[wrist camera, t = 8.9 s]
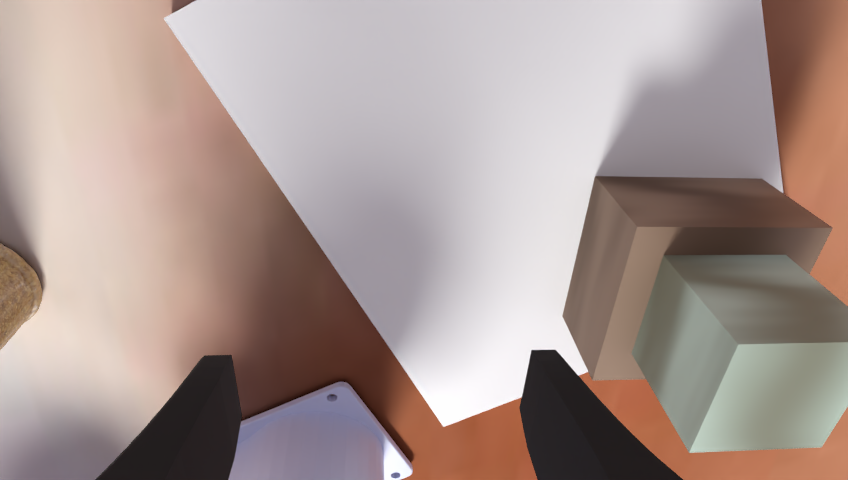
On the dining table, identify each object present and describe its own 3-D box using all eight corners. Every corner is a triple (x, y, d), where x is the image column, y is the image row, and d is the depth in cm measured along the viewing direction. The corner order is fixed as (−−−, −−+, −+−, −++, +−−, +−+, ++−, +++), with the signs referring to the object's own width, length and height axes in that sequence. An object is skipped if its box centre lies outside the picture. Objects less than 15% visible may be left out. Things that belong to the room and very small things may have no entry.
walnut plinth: (562, 316, 25) (592, 380, 22) (594, 175, 22) (637, 226, 18) (706, 314, 26) (757, 376, 22) (761, 178, 22) (832, 228, 19)
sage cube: (631, 353, 21) (689, 452, 17) (663, 255, 19) (738, 344, 15) (741, 350, 22) (821, 447, 18) (785, 254, 19) (889, 341, 15)
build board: (441, 414, 29) (443, 426, 28) (171, 14, 18) (163, 18, 17) (783, 282, 26) (794, 293, 26) (711, -287, 15) (727, -296, 15)
